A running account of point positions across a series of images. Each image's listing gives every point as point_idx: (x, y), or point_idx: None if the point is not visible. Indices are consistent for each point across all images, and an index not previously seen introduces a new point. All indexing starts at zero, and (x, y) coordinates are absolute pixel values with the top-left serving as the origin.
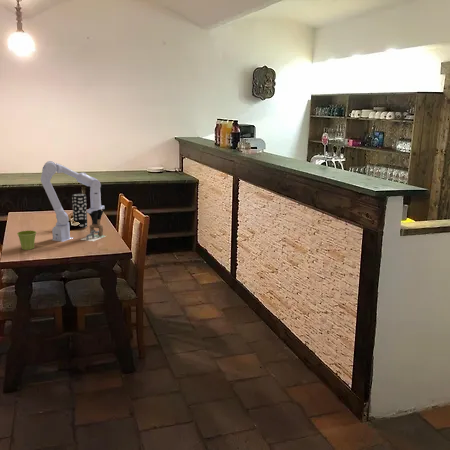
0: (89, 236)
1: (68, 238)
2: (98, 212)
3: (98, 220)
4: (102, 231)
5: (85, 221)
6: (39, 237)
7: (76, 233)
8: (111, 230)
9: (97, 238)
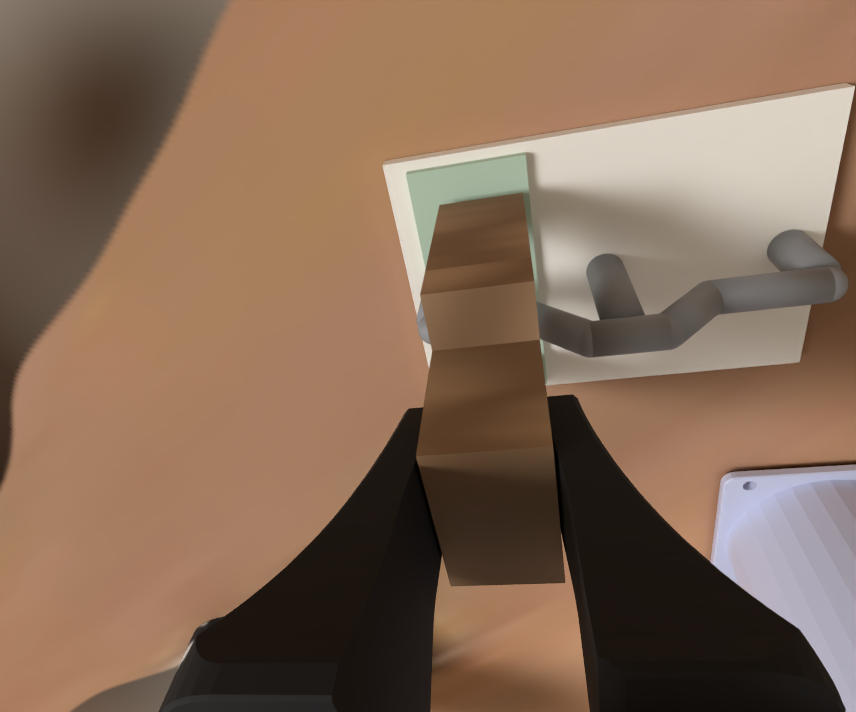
0: (567, 362)
1: (842, 486)
2: (389, 706)
3: (507, 437)
4: (447, 232)
5: None
6: None
7: None
8: (81, 357)
9: (621, 173)
